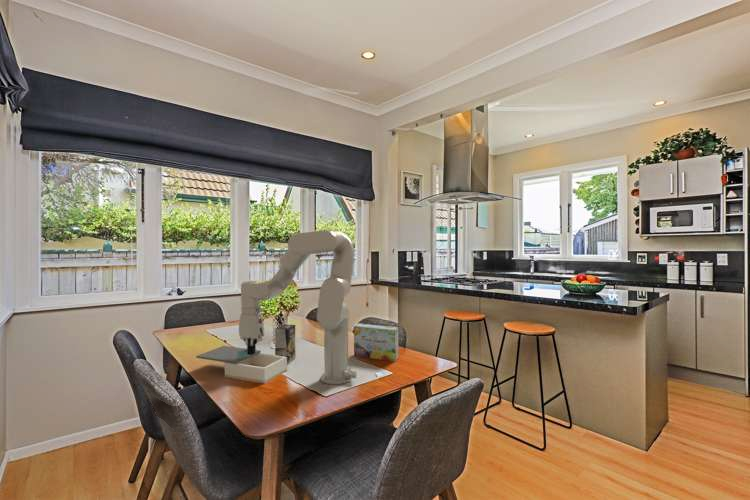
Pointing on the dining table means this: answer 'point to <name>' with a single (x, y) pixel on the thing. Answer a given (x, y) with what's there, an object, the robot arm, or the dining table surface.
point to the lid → (227, 354)
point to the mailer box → (257, 368)
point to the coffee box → (285, 342)
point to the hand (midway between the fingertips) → (251, 353)
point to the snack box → (376, 342)
